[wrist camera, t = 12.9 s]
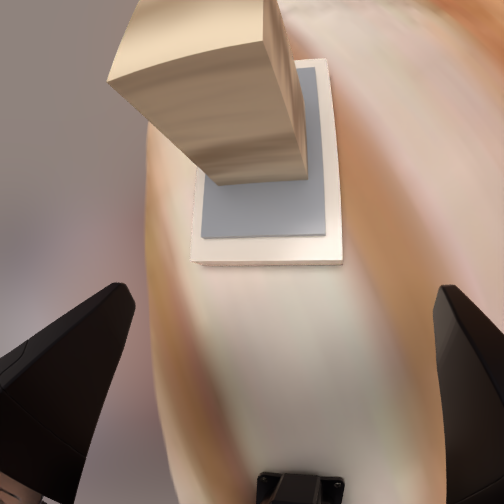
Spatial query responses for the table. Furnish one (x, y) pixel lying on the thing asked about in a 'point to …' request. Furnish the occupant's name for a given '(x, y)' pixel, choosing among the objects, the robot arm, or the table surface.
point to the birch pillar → (217, 86)
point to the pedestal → (278, 200)
